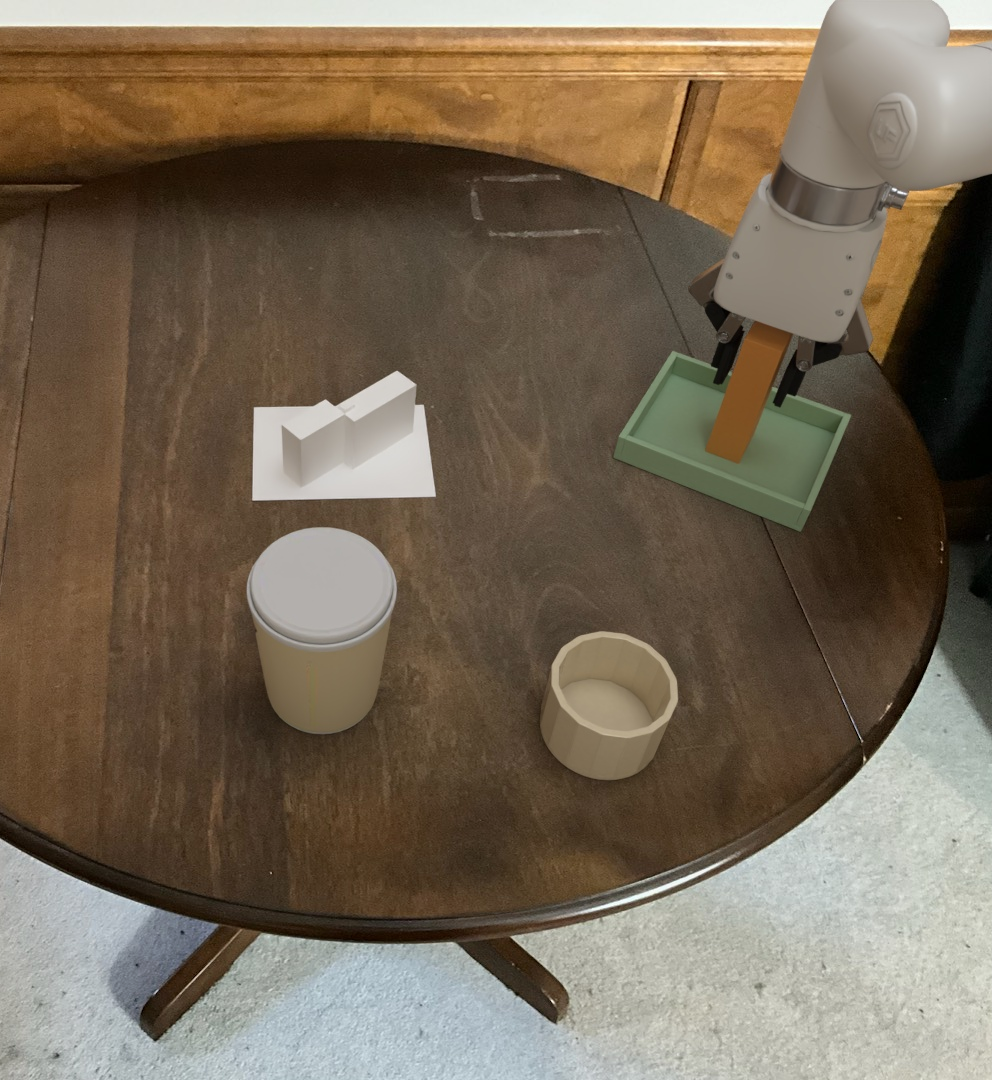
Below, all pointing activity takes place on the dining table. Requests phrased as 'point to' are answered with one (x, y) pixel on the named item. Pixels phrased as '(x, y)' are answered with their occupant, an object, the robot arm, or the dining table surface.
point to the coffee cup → (321, 626)
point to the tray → (768, 463)
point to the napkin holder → (345, 447)
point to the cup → (607, 705)
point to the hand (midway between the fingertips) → (752, 384)
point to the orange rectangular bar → (748, 390)
